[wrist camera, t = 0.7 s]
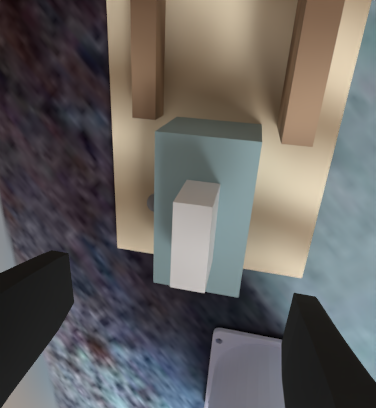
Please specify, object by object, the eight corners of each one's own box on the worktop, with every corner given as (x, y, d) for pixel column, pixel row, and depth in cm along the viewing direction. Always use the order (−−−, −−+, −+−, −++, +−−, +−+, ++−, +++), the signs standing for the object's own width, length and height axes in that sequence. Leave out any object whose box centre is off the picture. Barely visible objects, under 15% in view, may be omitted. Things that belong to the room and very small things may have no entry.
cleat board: (300, 268, 20) (310, 326, 16) (123, 240, 22) (89, 285, 18) (405, -164, 12) (490, -295, 8) (109, -150, 14) (38, -248, 10)
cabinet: (242, 255, 20) (235, 335, 14) (159, 241, 21) (120, 312, 15) (262, 124, 16) (262, 158, 11) (162, 115, 17) (113, 142, 12)
